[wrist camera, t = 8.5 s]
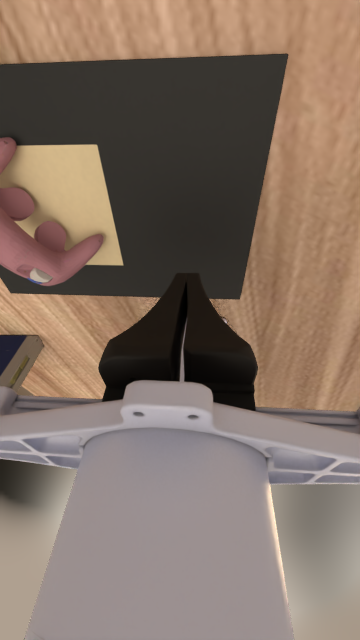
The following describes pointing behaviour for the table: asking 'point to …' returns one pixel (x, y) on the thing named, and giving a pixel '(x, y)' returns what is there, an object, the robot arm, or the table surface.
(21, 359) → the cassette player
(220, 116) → the desk mat
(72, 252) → the pink curved piece
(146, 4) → the table surface
